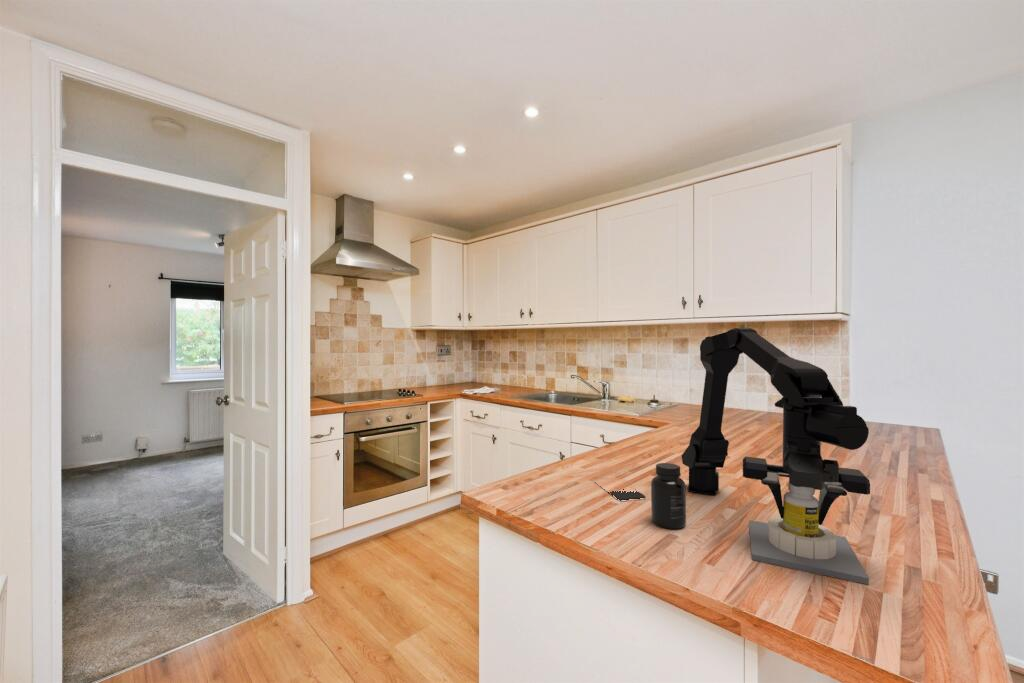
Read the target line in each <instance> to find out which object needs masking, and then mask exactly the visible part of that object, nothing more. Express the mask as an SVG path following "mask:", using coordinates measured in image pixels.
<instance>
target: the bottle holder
mask: <svg viewBox="0 0 1024 683" xmlns="http://www.w3.org/2000/svg"><path fill="white" fill-rule="evenodd" d="M748 526H749V538H750V539H749V540H750V542H749V543H750V553H751V560H752V561H756V562H761V563H765V564H771V565H775V566H779V567H783V568H789V569H793V570H799V571H804V572H807V573H813V574H817V575H823V576H827V577H832V578H836V579H840V580H844V581H845V580H846V581H851V582H856V583H860V584H863V585H864V584H865V585H870V577H869V576H868V574H867V572H866V571H865V569H864V567H863V565H862V564H861V561H860V560H859V558H858V556H857V555H856V553H855V552H854V550H853V548H852V546H851V544H850V543H849V540H848V538H846V536H841V535H838V534H835V532H834V531H833V530H832V529H829V528H828V527H826V526H824V525H823V524H822V525H819V527H818V538H809V537H804V536H798V535H795V534H792V533H789V532H786V531H785V530H783V518H781V517H780V516H778V517H777V516H776V517H772V518H771V519H769V520H768V523H767V522H763V521H757V520H750V519H749V521H748Z"/></svg>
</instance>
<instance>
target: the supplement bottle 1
mask: <svg viewBox="0 0 1024 683" xmlns="http://www.w3.org/2000/svg"><path fill="white" fill-rule="evenodd" d="M655 474H656V476H654V477H653V478H652V479H651V482H650V486H651V488H650V489H651V490H650V494H651V495H650V496H651V497H650V498H651V500H650V501H651V504H650V505H651V506H650V508H651V509H650V510H651V521H652V523H653V524H654V525H656V526H657V527H660V528H663V529H666V530H667V529H668V530H679V529H682V528H683V529H684V527H685V526H686V524H687V495H686V494H687V491H686V489H687V488H686V486H687V485H686V483H685V481H684V480H683V479H682V478H680V477H681V475H682V474H681V466H680V465H678V464H675V463H671V462H670V463H669V462H660V463H657V464H656V465H655Z"/></svg>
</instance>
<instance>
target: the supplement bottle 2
mask: <svg viewBox="0 0 1024 683" xmlns="http://www.w3.org/2000/svg"><path fill="white" fill-rule="evenodd" d="M787 486H788V487H787V489H788V492H785V493H784V495H783V497H782V503H783V510H784V518H783V530H785V531H786V532H789V533H792V534H795V535H798V536H804V537H809V538H818V527H819V499H818V498H817V497H815V496H814V495H815V493H816V489H814V488H809V487H802V486H801V487H796V486H793V485H791V484H790V482H789V481H788V483H787Z"/></svg>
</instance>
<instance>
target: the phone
mask: <svg viewBox="0 0 1024 683" xmlns="http://www.w3.org/2000/svg"><path fill="white" fill-rule="evenodd" d="M623 490H624V489H623ZM637 491H638V490H637ZM637 491H636V492H635V493H634V491H633V492H631V491H630V492H627V493H626V491H624V492H623V491H622V493H621V491H619V492H618V491H617V492H616V491H615V492H614V491H612V492H610V493H611V494H612V495H614V496H615V497H616V498H617V499H619V500H629V499H640V498H645V499H646V495H645V494H643V493H641V492H640V491H638V492H637ZM617 499H616V500H617Z"/></svg>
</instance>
